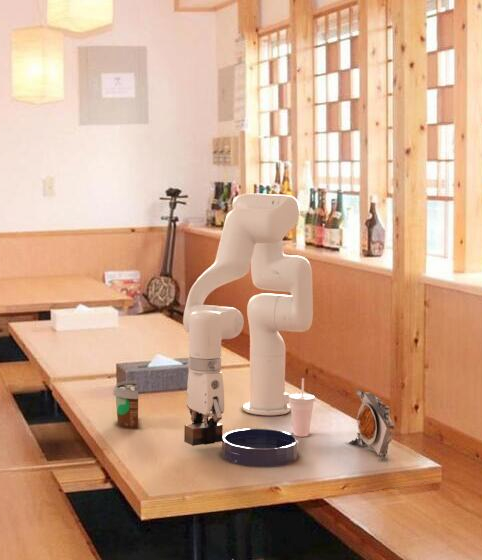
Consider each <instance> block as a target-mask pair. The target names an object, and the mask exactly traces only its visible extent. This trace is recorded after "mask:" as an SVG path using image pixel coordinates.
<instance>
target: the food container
mask: <svg viewBox="0 0 482 560" xmlns="http://www.w3.org/2000/svg"><path fill="white" fill-rule="evenodd" d="M137 384H138V382H137V380H125V381H121V382H117V383H115V386H114V387H113V392H112V394H113V396H115V403H116V418H117V425H118V426H119V427H121V428H126V429H133V430H134V429H139V390H138V387H137Z"/></svg>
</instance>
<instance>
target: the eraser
mask: <svg viewBox="0 0 482 560" xmlns="http://www.w3.org/2000/svg"><path fill="white" fill-rule="evenodd" d="M203 427H204V423H196V424H192V423H191V424H184V435H183V437H184V438H183V439H184V441H183V442H184V443H186V444H188V445H190V446H192V447H194V446H201V445H204V444H203V443H202V441H203ZM223 428H224V427H223V424H222V423H219V422H218V423H217V427H216V437H215V443H214V444H217V443H222V438H223Z"/></svg>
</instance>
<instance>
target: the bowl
mask: <svg viewBox="0 0 482 560" xmlns="http://www.w3.org/2000/svg"><path fill="white" fill-rule="evenodd" d="M298 441H299V440H298V437H297V436H295V435H294V434H292V433H289V432H286V431H282V430H279V429H271V428H242V429H235V430H231V431H229V432H226V433H224V434H222V442H221V453H222V457H223V458H224V460H226V461H228V462H230V463H233V464H237V465H241V466H248V467H257V468H259V467H260V468H263V467H264V468H265V467H266V468H267V467H269V468H270V467H280V466H284V465H285V466H286V465H288V464H291V463H293V462H295V461H296V460H297V459H298V446H299V445H298V443H299V442H298Z"/></svg>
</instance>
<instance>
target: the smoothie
mask: <svg viewBox="0 0 482 560" xmlns="http://www.w3.org/2000/svg"><path fill="white" fill-rule="evenodd" d="M289 401H290V402H289V404H290V412H291V423H292V432H293V435H294V436H295V437H299V438H300V437H301V438H303V437H309V434H310V428H311V421H312V416H313V415H312V414H313V408H314V403H315V402H316V397H315V395H313V394H310V393H305V378H303V377H302V378H301V393H292V395H291V394H290V396H289Z"/></svg>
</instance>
